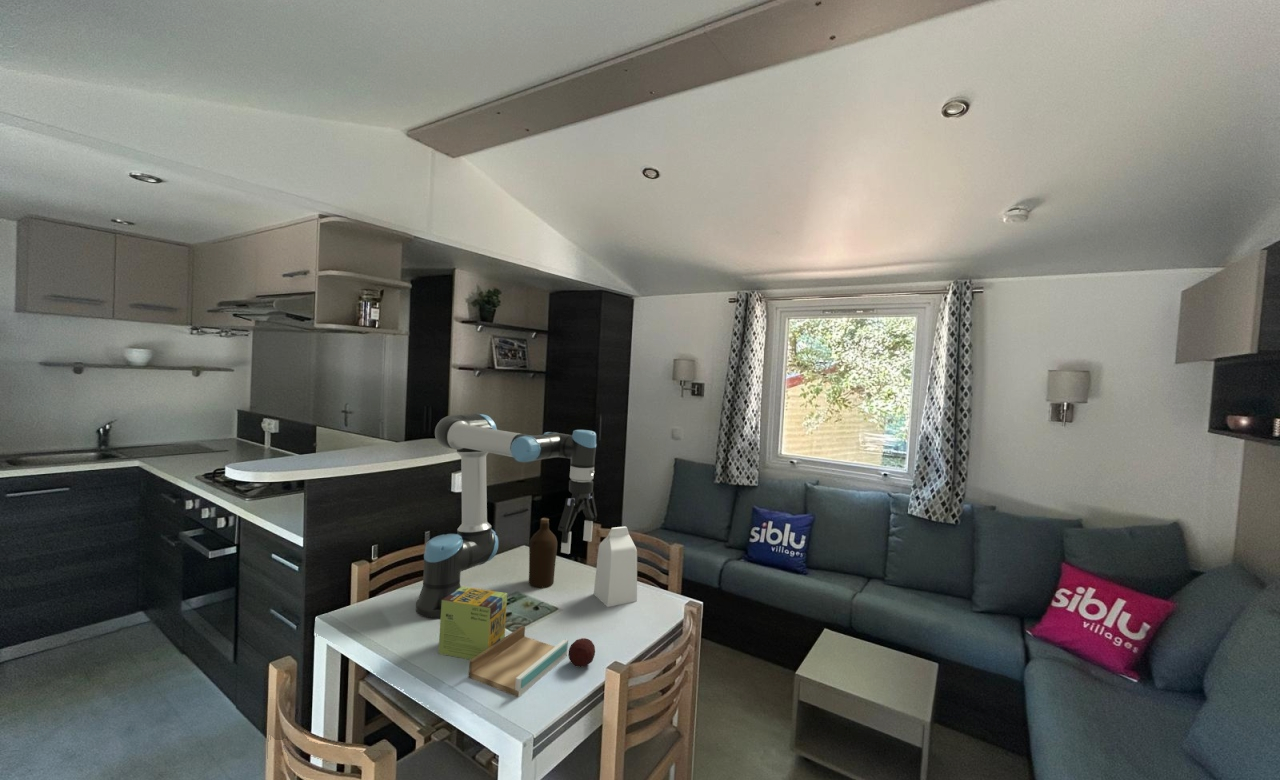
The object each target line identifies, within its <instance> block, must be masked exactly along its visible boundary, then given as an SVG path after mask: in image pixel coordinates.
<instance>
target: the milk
mask: <svg viewBox="0 0 1280 780" xmlns="http://www.w3.org/2000/svg"><path fill="white" fill-rule="evenodd" d="M593 595H594V596H595V597H596V599H598V600H599V601H600V602H601V603H603V605H605V606H606V607H607V608H609V607H614V606H620V605H625V604H629V603H630V604H631V603H635V602H636V603H637V602H638V550H637V546H636V545H635V542H634V541H633V539H632V537H631V536H630V532H629V529H628V527H627V526H617V527H616V526H615V527H611V529H610V530H609V532H608V534H607V536H606V537H605V538H604V539H603V540H602V541H601V542H600V543H599V545H598V550H597V562H596V569H595V579H594V589H593Z"/></svg>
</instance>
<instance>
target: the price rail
mask: <svg viewBox="0 0 1280 780" xmlns="http://www.w3.org/2000/svg"><path fill="white" fill-rule="evenodd" d="M554 646H555V647H554V648H553V649H552V650H550V651H549V652H548V653H547V654H545V655H544V656H543V657H542V658H540V659H539V660H538V661H536V662H535V663H534V664H533V665H531V666H530V667H529V668H528V669H526V670H525V671H524V672H523V673H521V674H520V675H519V676H518V677H516V685H515V690H517V691H518V692H519V696H518V698H520V697H521V696H522V695H523V694H525V693H526V692H527V691H528V690H529V689H530V688H532V686H534V685H535V684H536V683H537V682H539V681H540V680H541V679H542V678H544V676H545V675H547V674H548V673H549V672H550V671H551V670H552V669H554V668H555V667H556V666H557V665H559V663H560V662H562V661H563V660H564V659H565V658H566V657H568V651H569V649H568V648H569V640H568V639H566V638H564V639H563V640H562V641H560V642H559V643H558V644H556V645H554ZM515 692H516V691H515ZM516 694H517V695H518V693H517V692H516ZM517 695H515V697H517Z"/></svg>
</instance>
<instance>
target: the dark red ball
mask: <svg viewBox="0 0 1280 780" xmlns="http://www.w3.org/2000/svg"><path fill="white" fill-rule="evenodd" d="M568 648H569V649H568V653H567V657H568V660H569V661H570V663H571V664H572V665H573V667H576V668H584V667H586V666H589V664H591V663H592V662H593V661H594V658H595V655H596V647H595V644H594V642H593V641H592V640H590V639H589V638H582V637H581V638H579V639H575V641H573V642H572V643H571V645H570V646H569V647H568Z"/></svg>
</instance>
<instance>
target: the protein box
mask: <svg viewBox="0 0 1280 780" xmlns="http://www.w3.org/2000/svg"><path fill="white" fill-rule="evenodd" d="M507 598H508V592H501V591H493V590H489V589H483V588H474V587H470V586H468V587H467V586H461V587H460V588H459V589H457V590H456V591H455V592H453V593H452V594H450V595H449V596H447V597H446V598H444V599H443V600H442V604H441V618H440V622H439V623H440V624H439V625H440V626H439V635H438V636H439V640H438V652H437V653H438V655H439V654H440V655H444V656H450V657H455V658H459V659H466V660H468V661H470V660H472V659H473V658H475V657H476V656H478V655H479V654H481V653H482V652H484V651H485V650H487V649H488V648H490V647H491V646H493V645H494V644H496V643H497V642H499V641H500V640H502V639H503V638H505V637H506V636H505V635H506V618H507V603H508V601H507V600H508V599H507Z"/></svg>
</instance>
